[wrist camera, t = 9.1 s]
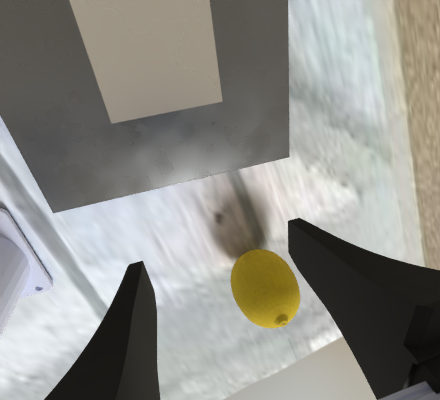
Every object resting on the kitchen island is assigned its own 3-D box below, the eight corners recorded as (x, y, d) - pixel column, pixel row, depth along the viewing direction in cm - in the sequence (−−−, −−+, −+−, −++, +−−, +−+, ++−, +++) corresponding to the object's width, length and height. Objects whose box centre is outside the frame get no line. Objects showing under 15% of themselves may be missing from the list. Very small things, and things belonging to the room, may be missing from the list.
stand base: (56, 206, 20) (34, 249, 16) (-141, -170, 11) (-322, -310, 7) (283, 152, 23) (317, 177, 18) (276, -188, 14) (340, -297, 9)
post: (124, 87, 14) (109, 126, 7) (102, 14, 12) (57, -26, 6) (184, 77, 14) (225, 103, 8) (171, 4, 13) (206, -44, 6)
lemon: (213, 274, 27) (237, 348, 21) (233, 228, 25) (267, 294, 19) (261, 279, 29) (297, 348, 23) (283, 237, 27) (330, 299, 21)
